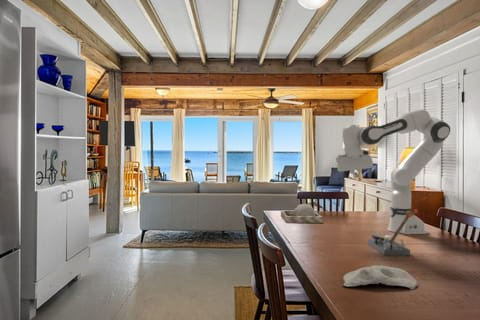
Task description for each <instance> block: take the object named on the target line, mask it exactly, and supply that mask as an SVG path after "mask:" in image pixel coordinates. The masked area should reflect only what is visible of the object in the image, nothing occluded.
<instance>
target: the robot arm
mask: <svg viewBox="0 0 480 320" xmlns="http://www.w3.org/2000/svg"><path fill="white" fill-rule="evenodd" d="M414 131H418V132H419V133H422V134H423V135H424V138H423V139H422V140H421V141H420V142H419V143H418V144H417V145H416V146H415V147H414V148H413V150H412V151H410V152H409V154H408V155H407V156H406V157H405V159H404V160H403V161H402V162H401V163H400V165H398V166H396V167H395V168H393V169H392V171H391V173H390V186H391V187H390V188H391V189H390V190H391V192H390V193H391V196H390V197H391V200H390V201H391V203H390V204H391V205H390V209H389V216H390V219H389V224H388V228H387V230H388V231H389V232H392V233H396V231H397V229H398V228H399V226H400V225H401V223H402V222H403V220H404V219H405V217H406V212H407V211H412V212H413V216H412V217H410V218H408V220H407V221H406V223H405V224H404V226H403V227H402V229H401V230H400V232H399V234H404V235H422V234H423V235H427V234H429V233H430V232H429V230H428V229H425V223H424V221H423V220H421V219H420V218H419V217H418V216H416V215H415V214H418V210H417V209H413V208H412V187H411V186H412V185H411V183H412V182H413V181H414V180H415V178H417V176H418V175H419V174H420V173H421V172H422V170H423V168H425V167H426V166H427V164H428V163H430V162H431V161H432V159H433V158H434V157H435V156H437V154H438V153H439V151H441V149H442V147H443V146H444V145H443V144H444V141H446V139H447V138H448V137H449V135H450V133H451V126H450V125H449V124H448V123H447V122H445V121H443V120H441V119H440V118H438V117H433V116H431V115H430V113H429V112H428V111H427V110H426V109H424V108H423V109H415V110H411V111H408V112H406V113H403V114H401V115H399V116H397V117H396V118H394V119H393V120H392V121H390V122H387V123H385V124H382V125H369V126H366V127H364V128H363V127H360V126H357V125H356V124H351V125H349V126H346V127H345V126H344V128H343V129H342V141H343V142H342V143H343V146H344V154H339V155H337V156H336V158H335V159H336V168H337V169H336V170H337V171H338V172H347V171H349V172H350V174H352V177H353V179H358V178H359V179H360V177H361V175H360V174H361V172H362V170H365V169H372V168H373V167H374V162H373V158H372V156H371V152H370V150H365V149H362V148H361V147H364V148H365V147H370V146H373V145H376V144H378V143H379V142H380V141H381V140H382V139H383V138H384V137H387V136H391V135H393V134H395V133H398V134H400V135H402V134H403V135H404V134H409V133H411V132H414ZM355 172H356V173H355Z"/></svg>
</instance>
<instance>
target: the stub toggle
mask: <svg viewBox="0 0 480 320" xmlns="http://www.w3.org/2000/svg"><path fill="white" fill-rule="evenodd" d="M400 244H401V245H402V248H403V249H404V248H405V247H406V244H405V242H404V240H403V239H400ZM406 248H407V247H406Z"/></svg>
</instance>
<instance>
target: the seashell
mask: <svg viewBox="0 0 480 320" xmlns="http://www.w3.org/2000/svg"><path fill="white" fill-rule="evenodd" d="M293 211H294V216H316V214H315V212H316V211H315V210H314V208H313V207H312V206H311V205H310V204H308V203H301V204H299V205H297V206H296V207H295V208H293ZM314 211H315V212H314Z"/></svg>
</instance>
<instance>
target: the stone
mask: <svg viewBox="0 0 480 320" xmlns="http://www.w3.org/2000/svg"><path fill="white" fill-rule="evenodd" d="M342 277H343V281H344V283H343V286H345V287H357V286H358V287H359V286H361V285H362V286H367V285H370V284H372V285H373V284H377V285H379V283H380V284H382V285H385V286H399V287H406V288H409V289H410V290H415V288H416V287H418V286H419V283H418V281H416V278H415V277H413V276H412V275H411V274H410V273H408V271H406V270H404V269H402V268H397V267H391V266H385V265H372V266H366V267H361V268H358V269H356V270H354V271H350V272H348V273H346V274H345V275H343V276H342Z"/></svg>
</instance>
